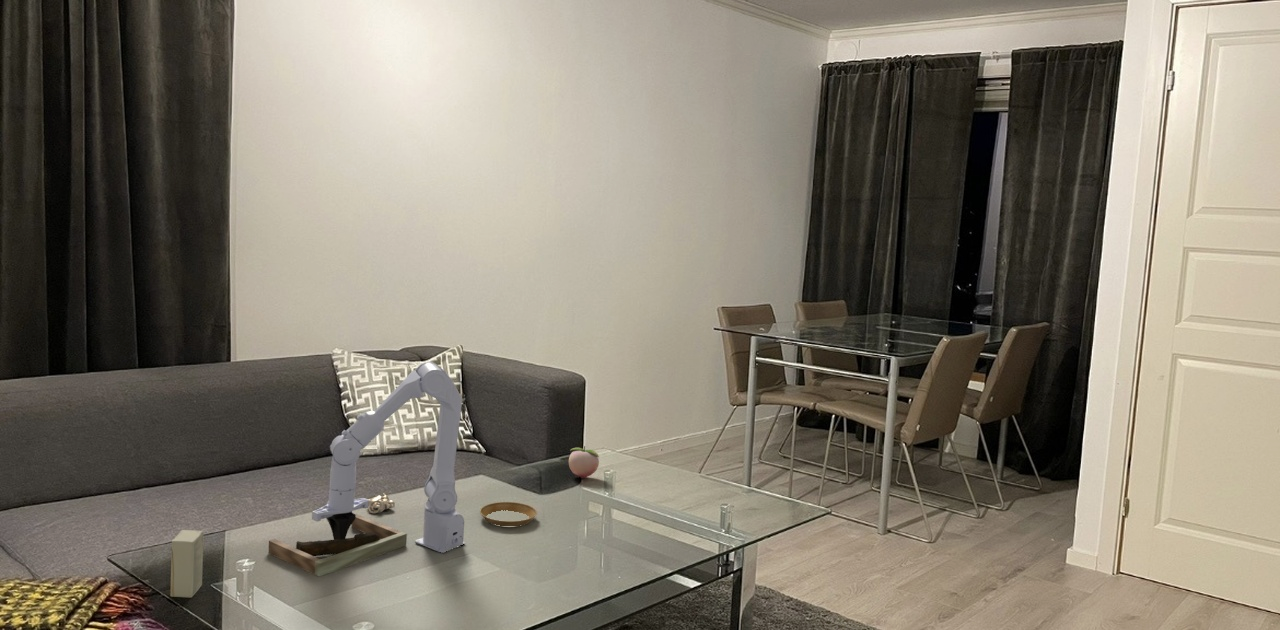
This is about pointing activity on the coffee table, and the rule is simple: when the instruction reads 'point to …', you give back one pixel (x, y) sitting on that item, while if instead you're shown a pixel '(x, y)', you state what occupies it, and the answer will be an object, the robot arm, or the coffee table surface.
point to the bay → (319, 567)
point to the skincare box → (186, 563)
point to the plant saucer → (510, 507)
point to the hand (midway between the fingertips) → (338, 543)
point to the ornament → (380, 504)
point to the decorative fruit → (583, 462)
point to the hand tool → (336, 544)
